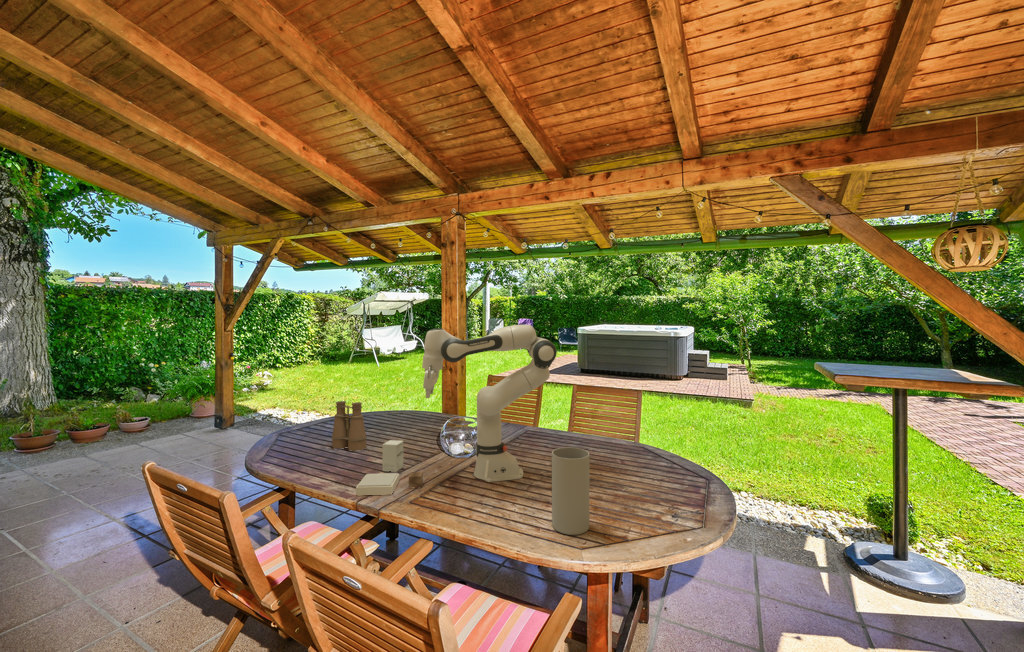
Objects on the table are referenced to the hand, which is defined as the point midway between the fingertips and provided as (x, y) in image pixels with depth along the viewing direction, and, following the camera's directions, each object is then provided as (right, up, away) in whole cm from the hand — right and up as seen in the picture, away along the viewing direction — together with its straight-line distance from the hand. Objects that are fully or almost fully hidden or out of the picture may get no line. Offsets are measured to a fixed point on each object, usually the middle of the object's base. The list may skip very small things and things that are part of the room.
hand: (429, 395), depth 186 cm
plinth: (-19, -37, -12) cm, 43 cm away
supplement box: (-19, -37, +11) cm, 43 cm away
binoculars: (-52, -36, +43) cm, 77 cm away
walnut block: (-4, -37, -9) cm, 38 cm away
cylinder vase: (+56, -37, -44) cm, 81 cm away
